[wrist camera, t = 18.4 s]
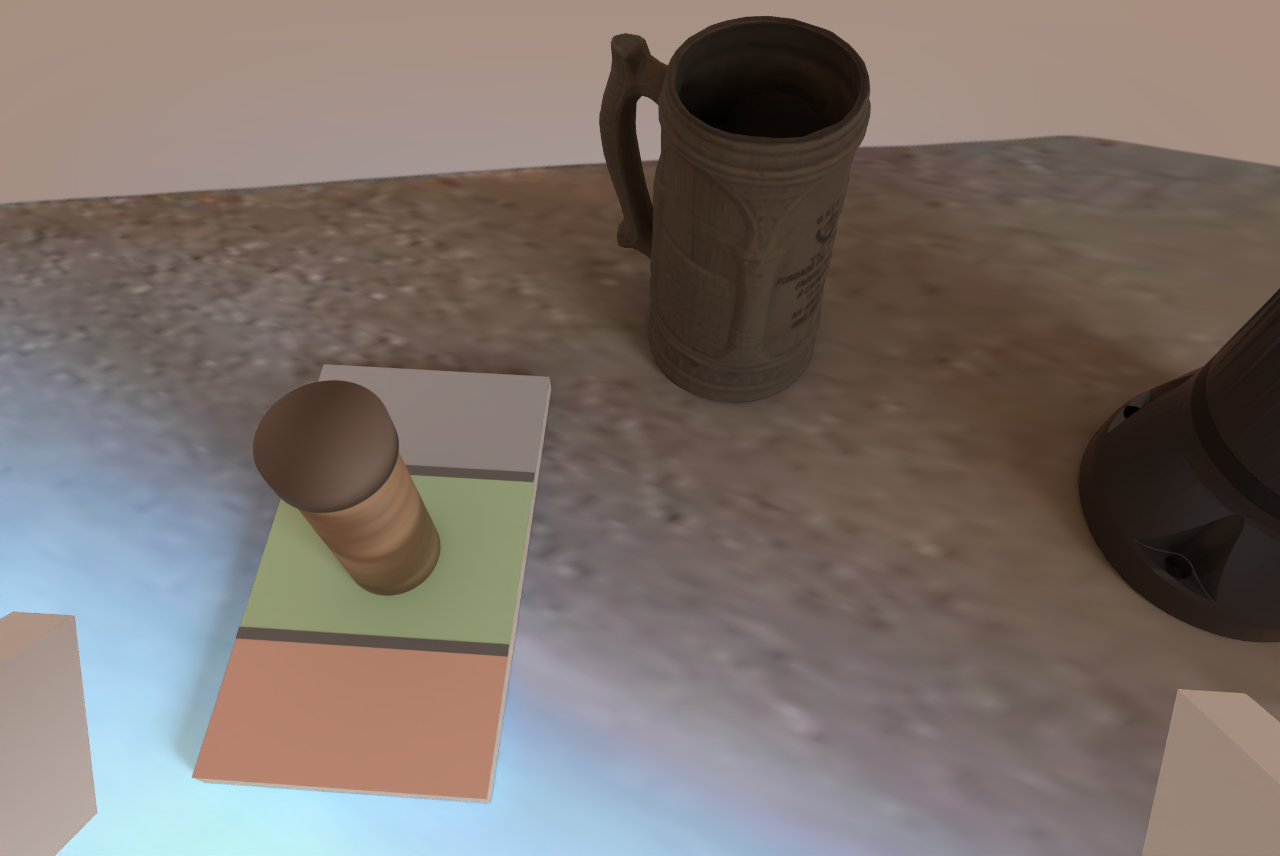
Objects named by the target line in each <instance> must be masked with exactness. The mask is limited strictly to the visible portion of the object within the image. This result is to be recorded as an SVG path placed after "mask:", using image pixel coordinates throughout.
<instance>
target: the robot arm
mask: <svg viewBox="0 0 1280 856" xmlns="http://www.w3.org/2000/svg"><path fill="white" fill-rule="evenodd" d="M1079 480H1080V496H1081V502H1082V506H1083V510H1084V514H1085V517H1086V520H1087V522H1088V525H1089V527H1090V529H1091V532H1092V534H1093V535H1094V537H1095V539H1096V541H1097V543H1098V545H1099V546H1100V548H1101V549H1102V551H1103V552H1104V554H1105V555H1106V557H1107V558H1108V559H1109V561H1110V562H1111V563H1112V565H1113V566H1114V567H1115V568H1116V569H1117V571H1118V572H1119V573H1120V574H1121V575H1122V576H1123V577H1124V578H1125V579H1126V580H1127V581H1128V582H1129V583H1130V584H1131V585H1132V586H1133V587H1134V588H1135V589H1136V590H1138V591H1139V592H1140V593H1141V594H1142V595H1144V596H1145V597H1146V598H1147V599H1149V600H1150V601H1151V602H1153V603H1154V604H1155V605H1157V606H1158V607H1160V608H1161V609H1163V610H1165V611H1166V612H1168V613H1169V614H1171V615H1173V616H1175V617H1176V618H1178V619H1180V620H1182V621H1184V622H1186V623H1188V624H1190V625H1193V626H1195V627H1197V628H1200V629H1202V630H1205V631H1208V632H1210V633H1213V634H1217V635H1220V636H1224V637H1228V638H1232V639H1237V640H1243V641H1252V642H1280V289H1279V290H1278V291H1277V292H1276V293H1275V294H1274V295H1273V296H1272V297H1271V298H1270V299H1269V300H1268V301H1267V302H1266V303H1265V304H1264V305H1263V306H1262V307H1261V308H1260V309H1259V310H1258V311H1257V312H1256V313H1255V314H1254V315H1253V317H1252V318H1251V319H1250V320H1249V321H1248V322H1247V323H1246V324H1245V325H1244V326H1243V327H1242V328H1241V329H1240V330H1239V331H1238V332H1237V333H1236V334H1235V335H1234V336H1233V337H1232V338H1231V339H1230V340H1229V341H1228V342H1227V343H1226V344H1225V345H1224V346H1223V347H1222V348H1221V349H1220V350H1219V352H1218V353H1217V354H1216V355H1215V356H1214V357H1213V358H1212V359H1211V360H1210V361H1209V362H1208V363H1207V364H1206V365H1205V366H1203V367H1200V368H1198V369H1196V370H1194V371H1191V372H1189V373H1187V374H1185V375H1182V376H1180V377H1178V378H1176V379H1173V380H1171V381H1169V382H1167V383H1164V384H1162V385H1160V386H1158V387H1155V388H1153V389H1151V390H1149V391H1146V392H1144V393H1142V394H1140V395H1138V396H1136V397H1135V398H1133V399H1131V400H1130V401H1128V402H1127V403H1126V404H1124V405H1123V406H1122V407H1120V408H1119V409H1118V410H1117V411H1116V412H1115V413H1114V414H1113V415H1112V416H1111V417H1110V418H1109V419H1108V421H1107V422H1106V423H1105V424H1104V425H1103V426H1102V427H1101V429H1100V430H1099V431H1098V432H1097V433H1096V434H1095V436H1094V437H1093V438H1092V440H1091V441H1090V443H1089V445H1088V447H1087V449H1086V451H1085V454H1084V456H1083V460H1082V464H1081V469H1080V479H1079ZM96 814H97V807H96V798H95V790H94V781H93V772H92V763H91V755H90V746H89V737H88V728H87V720H86V711H85V702H84V693H83V685H82V676H81V667H80V659H79V650H78V641H77V632H76V624H75V616H71V615H55V614H40V613H25V612H12V613H10V614H8V615H7V616H5V617H3V618H1V619H0V856H55V855H56V854H57V853H58V852H59V851H60V850H61V849H62V848H63V847H64V846H65V845H66V844H67V843H68V842H69V841H70V840H71V839H72V838H73V837H74V836H75V835H76V834H77V833H78V832H79V831H80V830H81V829H82V828H83V827H84V826H85V825H86V824H87V823H88V822H89V821H90V820H91V819H92V818H93V817H94V816H95V815H96ZM1142 856H1280V722H1279V721H1278V720H1277V719H1275V718H1274V717H1273V716H1272V715H1271V714H1269V713H1268V712H1267V711H1266V710H1265V709H1263V708H1262V707H1261V706H1260V705H1259V704H1257V703H1256V702H1255V701H1254V700H1253V699H1251V698H1250V697H1249V696H1248V695H1247V694H1245V693H1230V692H1215V691H1200V690H1185V689H1178V691H1177V696H1176V700H1175V705H1174V710H1173V714H1172V719H1171V724H1170V728H1169V733H1168V738H1167V742H1166V747H1165V751H1164V756H1163V761H1162V765H1161V770H1160V775H1159V779H1158V784H1157V789H1156V793H1155V798H1154V802H1153V807H1152V812H1151V816H1150V821H1149V826H1148V830H1147V835H1146V840H1145V844H1144V849H1143V853H1142Z"/></svg>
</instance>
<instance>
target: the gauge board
mask: <svg viewBox="0 0 1280 856" xmlns="http://www.w3.org/2000/svg"><path fill="white" fill-rule="evenodd" d="M327 380H340V381H348V382H352V383H356V384H359V385H361V386H363V387H365V388H367V389H369V390H370V391H372V392H373V393H374V394H375V395H377V396H378V397H379V398H380V400H381V401H382V402H383V404H384V405H385V407H386V409H387V411H388V413H389V415H390V417H391V420H392V422H393V424H394V426H395V428H396V431H397V434H398V439H399V453H400V455H401V457H402V459H403V461H404V463H405V465H406V467H407V469H408V471H409V474H410V476H411V478H412V480H413V482H414V484H415V486H416V488H417V490H418V492H419V494H420V496H421V498H422V501H423V503H424V505H425V507H426V509H427V511H428V513H429V515H430V517H431V519H432V521H433V523H434V525H435V527H436V530H437V532H438V534H439V538H440V546H441V548H440V555H439V559H438V562H437V565H436V566H435V568H434V570H433V572H432V573H431V574H430V576H429V577H428V578H427V579H426V580H425V581H424V582H423V583H421V584H420V585H419V586H417V587H416V588H414V589H412V590H410V591H408V592H405V593H402V594H399V595H392V596H382V595H376V594H373V593H370V592H368V591H366V590H364V589H363V588H361V587H360V586H359V585H358V584H357V583H356V582H355V581H354V580H353V578H352V577H351V576H350V575H349V573H348V572H347V571H346V570H345V568H344V567H343V566H342V564H341V563H340V562H339V561H338V559H337V558H336V557H335V556H334V554H333V553H332V552H331V550H330V549H329V548H328V547H327V545H326V544H325V543H324V542H323V540H322V539H321V538H320V536H319V535H318V534H317V533H316V531H315V530H314V529H313V528H312V526H311V525H310V524H309V523H308V521H307V520H306V519H305V517H304V516H303V515H302V514H301V512H300V511H299V510H298V509H297V508H294V507H292V506H291V505H289V504H287V503H286V502H284V501H283V500H282V499H281V500H280V503H279V506H278V509H277V512H276V515H275V518H274V522H273V525H272V528H271V531H270V534H269V537H268V540H267V543H266V547H265V550H264V553H263V556H262V559H261V562H260V565H259V568H258V572H257V575H256V578H255V581H254V584H253V587H252V590H251V594H250V597H249V600H248V603H247V606H246V609H245V612H244V615H243V619H242V622H241V625H240V627H239V630H238V633H237V636H236V641H235V644H234V647H233V650H232V653H231V656H230V659H229V662H228V666H227V669H226V672H225V675H224V678H223V681H222V684H221V687H220V691H219V694H218V697H217V700H216V703H215V706H214V709H213V713H212V716H211V719H210V722H209V725H208V728H207V731H206V734H205V738H204V741H203V744H202V747H201V750H200V753H199V756H198V759H197V763H196V766H195V769H194V772H193V775H192V778H194V779H197V780H199V781H202V782H205V783H218V784H232V785H246V786H259V787H273V788H287V789H301V790H314V791H328V792H342V793H356V794H369V795H383V796H397V797H411V798H424V799H438V800H452V801H466V802H479V803H491V799H492V792H493V785H494V778H495V771H496V764H497V757H498V751H499V744H500V737H501V730H502V723H503V716H504V709H505V703H506V696H507V689H508V682H509V675H510V668H511V662H512V655H513V648H514V641H515V634H516V627H517V620H518V614H519V607H520V600H521V593H522V586H523V579H524V572H525V566H526V559H527V552H528V545H529V538H530V531H531V524H532V518H533V511H534V504H535V497H536V490H537V483H538V476H539V470H540V463H541V456H542V449H543V442H544V435H545V428H546V422H547V415H548V408H549V401H550V394H551V386H550V379H549V377H542V376H524V375H507V374H489V373H471V372H453V371H435V370H417V369H399V368H381V367H363V366H345V365H327V364H324V365H323V368H322V371H321V374H320V377H319V381H318V382H320V381H327Z"/></svg>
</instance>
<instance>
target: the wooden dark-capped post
mask: <svg viewBox="0 0 1280 856" xmlns="http://www.w3.org/2000/svg"><path fill="white" fill-rule="evenodd" d="M253 454H254V460H255V464H256V466H257V468H258V471H259V472H260V474H261V475H262V477H263V478H264V479H265V481H266V482H267V483H268V484H269V486H270V487H271V488H272V489H273V490H274V492H275V493H276V494H277V495H278V496H279V497H280V498H281V499H282V500H283V501H284V502H286V503H287V504H289V505H291V506H292V507H294V508H297V509H298V510H299V511H300V512H301V514H302V515H303V516H304V517H305V519H306V520H307V521H308V523H309V524H310V525H311V526H312V528H313V529H314V530H315V531H316V533H317V534H318V535H319V536H320V538H321V539H322V540H323V542H324V543H325V544H326V545H327V547H328V548H329V549H330V550H331V552H332V553H333V554H334V556H335V557H336V558H337V559H338V561H339V562H340V563H341V564H342V566H343V567H344V568H345V570H346V571H347V572H348V573H349V575H350V576H351V577H352V578H353V580H354V581H355V582H356V583H357V584H358V585H359V586H360V587H361V588H363V589H364V590H366V591H368V592H370V593H373V594H376V595H382V596H392V595H399V594H402V593H405V592H408V591H410V590H412V589H414V588H416V587H417V586H419V585H420V584H421V583H423V582H424V581H425V580H426V579H427V578H428V577H429V576H430V574H431V573H432V572H433V570H434V568H435V566H436V565H437V562H438V559H439V555H440V548H441V546H440V538H439V534H438V532H437V530H436V527H435V525H434V523H433V521H432V519H431V517H430V515H429V513H428V511H427V509H426V507H425V505H424V503H423V501H422V498H421V496H420V494H419V492H418V490H417V488H416V486H415V484H414V482H413V480H412V478H411V476H410V474H409V471H408V469H407V467H406V465H405V463H404V461H403V459H402V457H401V455H400V453H399V439H398V434H397V431H396V428H395V426H394V424H393V422H392V420H391V417H390V415H389V413H388V411H387V409H386V407H385V405H384V404H383V402H382V401H381V400H380V398H379V397H378V396H377V395H375V394H374V393H373V392H372V391H370V390H369V389H367V388H365V387H363V386H361V385H359V384H356V383H352V382H348V381H340V380H327V381H320V382H315V383H311V384H308V385H305V386H302V387H300V388H298V389H296V390H294V391H292V392H290V393H289V394H287V395H285V396H284V397H283V398H281V399H280V400H279V401H278V402H276V403H275V404H274V405H273V406H272V407H271V408H270V410H269V411H268V412H267V413H266V414H265V416H264V417H263V419H262V420H261V422H260V424H259V426H258V429H257V431H256V434H255V438H254V444H253Z"/></svg>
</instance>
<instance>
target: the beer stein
mask: <svg viewBox="0 0 1280 856" xmlns="http://www.w3.org/2000/svg"><path fill="white" fill-rule="evenodd" d="M611 50H612V66H611V72H610V75H609V79H608V82H607V85H606V89H605V92H604V95H603V100H602V105H601V111H600V118H599V121H600V122H599V125H600V132H601V140H602V146H603V152H604V156H605V159H606V163H607V167H608V170H609V173H610V176H611V179H612V182H613V185H614V188H615V191H616V193H617V196H618V199H619V201H620V204H621V208H622V211H623V215H624V221H623V222H622V223H620V224H619V227H618V232H617V239H618V244H619V246H622V247H624V248H634V249H636V250H639V251H641V252H642V253H644V254H645V255H647V256H648V257H649V258H650V259H651V265H650V269H651V280H650V287H651V300H652V301H651V307H652V312H651V317H650V321H649V340H650V345H651V350H652V353H653V355H654V357H655V359H656V361H657V363H658V365H659V367H660V368H661V369H662V370H663V372H664V373H665V374H666V375H667V376H668V377H669V378H670V379H671V380H672V381H673V382H675V383H676V384H677V385H679V386H681V387H682V388H684V389H686V390H688V391H690V392H692V393H694V394H696V395H698V396H701V397H704V398H708V399H712V400H716V401H722V402H732V403H737V402H746V401H754V400H758V399H762V398H766V397H769V396H771V395H773V394H775V393H777V392H779V391H781V390H783V389H785V388H786V387H788V386H789V385H790V384H791V383H793V382H794V381H795V380H796V379H797V378H798V377H799V376H800V375H801V374H802V373H803V371H804V369H805V368H806V366H807V364H808V362H809V360H810V358H811V355H812V351H813V347H814V342H815V334H816V331H817V329H818V326H819V322H820V318H821V300H822V294H823V287H824V282H825V278H826V274H827V271H828V268H829V264H830V259H831V255H832V248H833V243H834V239H835V233H836V228H837V223H838V219H839V216H840V213H841V210H842V208H843V203H844V198H845V192H846V188H847V185H848V182H849V171H850V167H851V164H852V160H853V156H854V152H855V151H856V149H857V148H858V147H859V146H860V144H861V142H862V140H863V138H864V136H865V133H866V130H867V126H868V122H869V118H870V108H871V105H870V100H869V96H870V84H869V75H868V72H867V69H866V66H865V63H864V61H863V60H862V59H861V57H860V56H859V54H858V53H857V52H856V51H855V50H854V49H853V48H852V47H851V46H850V45H849V44H848V43H847V42H845V41H844V40H842V39H841V38H840V37H838V36H837V35H836V34H834V33H833V32H831V31H829V30H826V29H823V28H820V27H817V26H814V25H811V24H808V23H804V22H801V21H798V20H795V19H790V18H780V17H773V16H755V17H743V18H738V19H733V20H727V21H724V22H721V23H717V24H714V25H711V26H709V27H707V28H705V29H704V30H702V31H700V32H698V33H697V34H695V35H693V36H691V37H689V38H688V39H687V40H686V41H685V42H684V43H683V44H682V45H681V46H680V47H679V48H678V49H677V50H676V52H675V53H674V55H673V56H672V58H671V60H670V62H669V65H666V64H664V63H661V62H660V61H659V60H657V59H656V58H654V57H653V56H651V54H650V52H649V49H648V46H647V43H646V41H645V39H643V38H642V37H641V36H638V35H632V34H626V33H625V34H620V35H616V36H614V37H613V38H612V42H611ZM641 96H645V97H648V98H650V99H652V100H653V101H654V102H655V103H657V104H658V105H659V121H660V125H661V155H660V158H659V162H658V165H657V169H656V174H655V180H654V195H653V206H652V203H651V200H650V197H649V193H648V190H647V186H646V182H645V177H644V173H643V168H642V163H641V157H640V152H639V147H638V140H637V135H636V123H635V122H636V103H637V101H638V99H639V98H640V97H641Z"/></svg>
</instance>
